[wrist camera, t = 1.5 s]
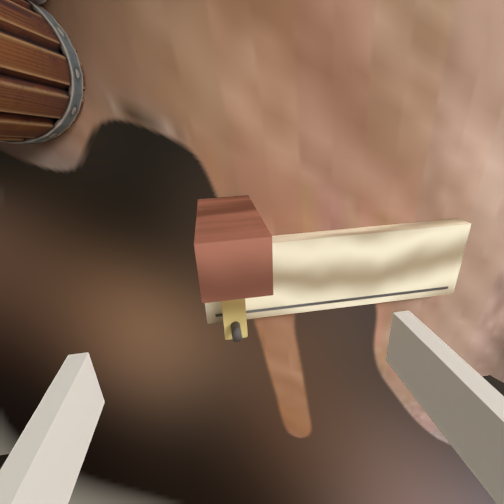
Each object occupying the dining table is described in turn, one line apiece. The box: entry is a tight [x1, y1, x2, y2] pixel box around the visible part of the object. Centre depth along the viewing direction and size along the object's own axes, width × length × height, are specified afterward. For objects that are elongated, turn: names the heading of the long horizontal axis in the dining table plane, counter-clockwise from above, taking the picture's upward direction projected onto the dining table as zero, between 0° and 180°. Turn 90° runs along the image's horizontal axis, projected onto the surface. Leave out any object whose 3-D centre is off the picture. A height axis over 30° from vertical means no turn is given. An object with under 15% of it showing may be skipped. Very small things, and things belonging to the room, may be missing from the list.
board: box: [205, 219, 471, 324], centre depth 34 cm, size 9×30×2 cm, turn 93°
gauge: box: [194, 195, 273, 342], centre depth 28 cm, size 14×5×12 cm, turn 3°
